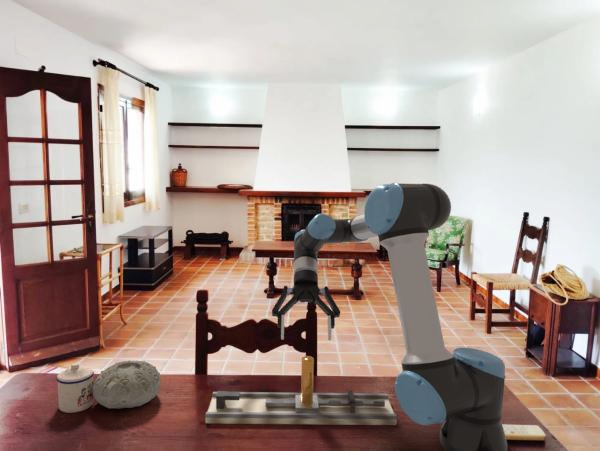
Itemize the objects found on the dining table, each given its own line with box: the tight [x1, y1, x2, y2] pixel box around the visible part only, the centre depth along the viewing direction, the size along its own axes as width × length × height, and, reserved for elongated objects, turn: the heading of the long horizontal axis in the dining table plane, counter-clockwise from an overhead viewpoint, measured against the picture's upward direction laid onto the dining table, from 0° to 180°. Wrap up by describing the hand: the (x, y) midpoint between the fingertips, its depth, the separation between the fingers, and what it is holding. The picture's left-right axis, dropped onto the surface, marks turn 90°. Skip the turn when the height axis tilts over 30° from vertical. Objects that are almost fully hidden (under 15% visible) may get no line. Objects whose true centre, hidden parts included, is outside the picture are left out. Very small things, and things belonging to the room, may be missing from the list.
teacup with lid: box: [55, 362, 95, 414], centre depth 128 cm, size 12×9×12 cm
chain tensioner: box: [265, 355, 385, 412], centre depth 126 cm, size 32×7×13 cm, turn 91°
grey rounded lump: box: [92, 360, 162, 410], centre depth 130 cm, size 18×18×10 cm
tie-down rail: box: [205, 390, 398, 426], centre depth 126 cm, size 49×12×5 cm, turn 91°
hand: (306, 338), depth 135 cm, fingers open, 13 cm apart
